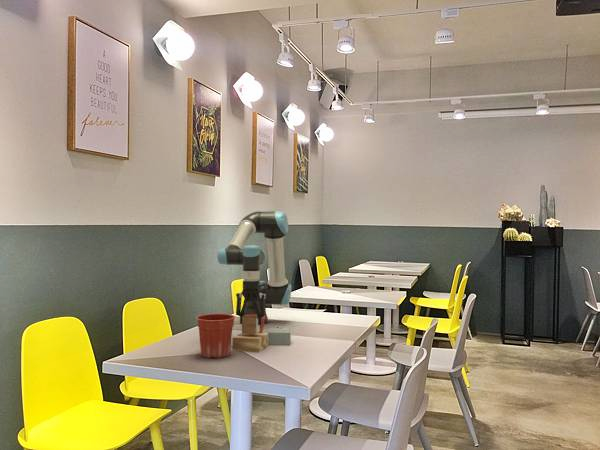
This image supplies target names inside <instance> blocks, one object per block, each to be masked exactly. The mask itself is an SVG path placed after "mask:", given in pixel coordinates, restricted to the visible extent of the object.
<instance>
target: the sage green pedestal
mask: <svg viewBox="0 0 600 450" xmlns="http://www.w3.org/2000/svg"><path fill="white" fill-rule="evenodd" d="M267 334H268V346H291V340H292V339H291V337H292V336H291V335H292V334H291V328H285V327H284V328H277V327H276V328H275V327H271V328H269V329H268V332H267Z"/></svg>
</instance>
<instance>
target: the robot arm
mask: <svg viewBox="0 0 600 450" xmlns="http://www.w3.org/2000/svg"><path fill="white" fill-rule="evenodd" d="M288 232H289V219H288V217H287V214H286V213H285V212H284V211H278V210H276V211H275V210H274V211H258V210H257V211H254V212H251V213H249V214H247V215H245V216H244V217H243V218H242V219H241V220H240V221H239V223H238V225H237V230H236V231H235V233H234V235H233V237H232V239H231V240H230V242H229V244H228V245H227V246H226V248H225V247H223V248H219V250H218V252H217V262H218V264H220V265H226V266H230V265H231V266H232V265H234V266H235V265H236V266H240V265H241V266H242V291H241V292H237V293H236V294H235V296H236V306H235V307H236V308H235V314H236V315H235V316H238V317H239V324H240V325H242V318H243V317H245V315H251V314H257V316H258V317H257V318H256V333H258V332H260V325H261V324H262V317H264V316H265V321H264V325H265V324H268V322H269V317H268V314H267V310H266V308H267V307H266V305H272V306H273V305H277V306H278V305H279V306H282V305H283V306H285V305H289V303H290V301H291V298H292V297H291V296H292V295H291V294H292V289H293V288H292V284H291V283H289V280H288V278H286V270H285V267H286V266H285V251H284V250H285V249H284V238H285V237H286V235H287V233H288ZM255 234H263V236H264V239H266V242H267V254H268V256H267V254H266V251H264V250H263V249H261V248H260V246H259V245H247V243H248V242H249V240H250V239H251V237H252V236H253V235H255ZM267 258H268V269H269V272H268V273H269V279H268V280H267V283H266V281H265V280H260V278H261V277H260V266H261V265H263V264H264V263H265V261H266V260H267ZM243 299H244V300H243ZM242 300H243V303H242Z"/></svg>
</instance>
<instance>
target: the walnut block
mask: <svg viewBox="0 0 600 450" xmlns="http://www.w3.org/2000/svg"><path fill="white" fill-rule="evenodd" d="M257 317H258V316H248V315H247V316H245V317H243V318H242V324H241V333H242V334H256V318H257Z"/></svg>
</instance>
